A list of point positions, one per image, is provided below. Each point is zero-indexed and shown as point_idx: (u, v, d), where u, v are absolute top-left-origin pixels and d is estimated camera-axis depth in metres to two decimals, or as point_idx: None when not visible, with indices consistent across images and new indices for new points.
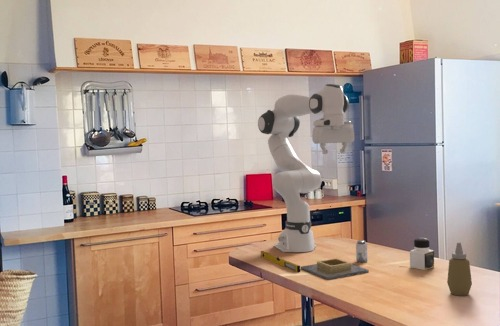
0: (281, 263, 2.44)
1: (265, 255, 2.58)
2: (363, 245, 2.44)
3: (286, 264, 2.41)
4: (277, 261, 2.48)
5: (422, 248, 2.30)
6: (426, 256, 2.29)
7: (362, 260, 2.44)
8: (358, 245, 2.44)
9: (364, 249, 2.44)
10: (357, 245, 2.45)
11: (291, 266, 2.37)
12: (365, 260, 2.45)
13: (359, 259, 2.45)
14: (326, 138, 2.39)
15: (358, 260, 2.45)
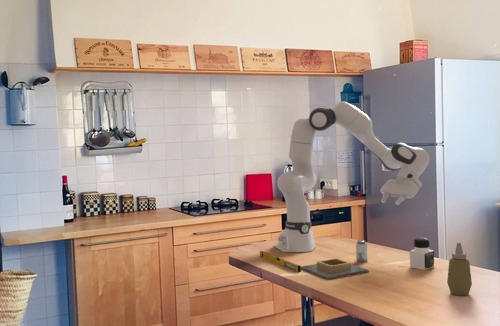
0: (281, 263, 2.44)
1: (264, 255, 2.58)
2: (363, 245, 2.44)
3: (286, 264, 2.41)
4: (277, 261, 2.48)
5: (422, 248, 2.30)
6: (426, 256, 2.29)
7: (362, 260, 2.44)
8: (358, 245, 2.44)
9: (364, 249, 2.44)
10: (357, 245, 2.45)
11: (291, 266, 2.37)
12: (365, 260, 2.45)
13: (359, 259, 2.45)
14: None
15: (358, 260, 2.45)
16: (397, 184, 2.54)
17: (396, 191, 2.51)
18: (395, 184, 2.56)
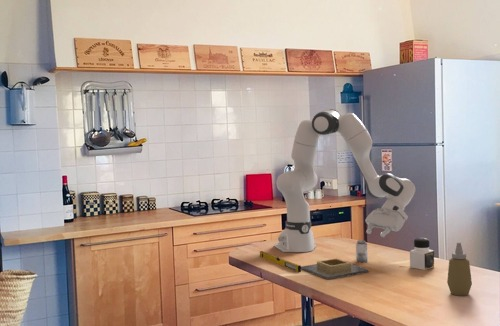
0: (281, 263, 2.44)
1: (264, 255, 2.58)
2: (363, 245, 2.44)
3: (286, 264, 2.41)
4: (277, 261, 2.48)
5: (422, 248, 2.30)
6: (426, 256, 2.29)
7: (362, 260, 2.44)
8: (358, 245, 2.44)
9: (364, 249, 2.44)
10: (357, 245, 2.45)
11: (291, 266, 2.37)
12: (365, 260, 2.45)
13: (359, 259, 2.45)
14: None
15: (358, 260, 2.45)
16: (382, 215, 2.52)
17: (381, 223, 2.48)
18: (380, 215, 2.53)
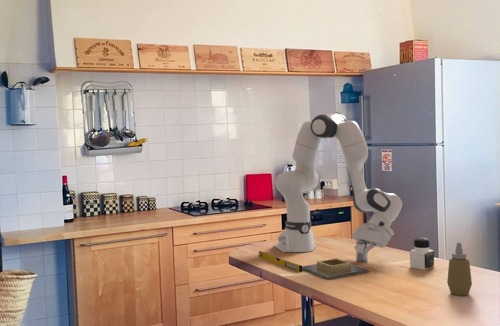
0: (281, 263, 2.44)
1: (263, 255, 2.58)
2: (363, 245, 2.44)
3: (287, 264, 2.41)
4: (277, 261, 2.48)
5: (422, 248, 2.30)
6: (426, 256, 2.29)
7: (362, 260, 2.44)
8: (358, 245, 2.44)
9: None
10: (357, 245, 2.45)
11: (292, 266, 2.38)
12: (365, 260, 2.45)
13: (359, 259, 2.45)
14: None
15: (358, 260, 2.45)
16: (369, 231, 2.49)
17: (367, 239, 2.45)
18: (367, 230, 2.50)
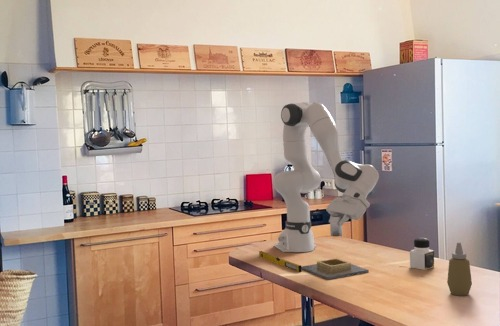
0: (281, 263, 2.44)
1: (264, 255, 2.58)
2: (337, 218, 2.30)
3: (286, 264, 2.41)
4: (277, 261, 2.48)
5: (422, 248, 2.30)
6: (426, 256, 2.29)
7: (336, 234, 2.31)
8: (332, 218, 2.31)
9: None
10: (331, 218, 2.31)
11: (292, 266, 2.37)
12: (339, 234, 2.31)
13: (334, 233, 2.31)
14: None
15: (332, 234, 2.31)
16: (344, 203, 2.35)
17: (342, 211, 2.32)
18: (342, 203, 2.36)
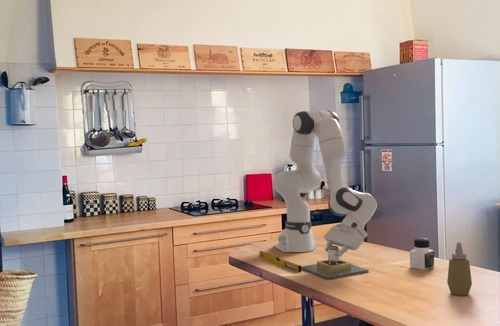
0: (281, 263, 2.44)
1: (264, 255, 2.58)
2: (335, 251, 2.30)
3: (286, 264, 2.41)
4: (277, 261, 2.48)
5: (422, 248, 2.30)
6: (426, 256, 2.29)
7: None
8: (330, 251, 2.31)
9: (336, 255, 2.30)
10: (329, 251, 2.31)
11: (292, 266, 2.37)
12: None
13: None
14: None
15: None
16: (341, 232, 2.35)
17: (339, 241, 2.31)
18: (339, 232, 2.36)
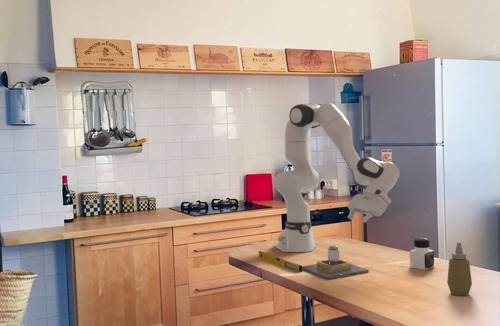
0: (281, 263, 2.44)
1: (263, 255, 2.58)
2: (335, 251, 2.30)
3: (287, 264, 2.41)
4: (277, 261, 2.48)
5: (422, 248, 2.30)
6: (426, 256, 2.29)
7: None
8: (330, 251, 2.31)
9: (336, 255, 2.30)
10: (329, 251, 2.31)
11: (292, 266, 2.37)
12: None
13: None
14: None
15: None
16: (365, 200, 2.40)
17: (363, 207, 2.36)
18: (363, 200, 2.41)
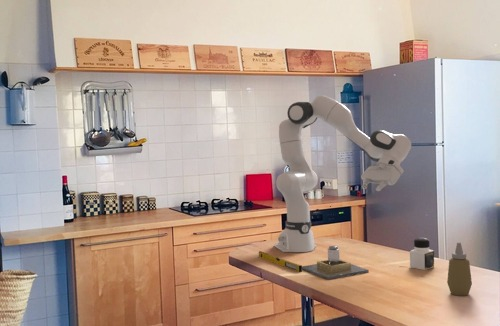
0: (281, 263, 2.44)
1: (263, 255, 2.58)
2: (335, 251, 2.30)
3: (287, 264, 2.41)
4: (277, 261, 2.48)
5: (422, 248, 2.30)
6: (426, 256, 2.29)
7: None
8: (330, 251, 2.31)
9: (336, 255, 2.30)
10: (329, 251, 2.31)
11: (292, 266, 2.37)
12: None
13: None
14: None
15: None
16: (378, 170, 2.50)
17: (377, 177, 2.46)
18: (376, 170, 2.51)
